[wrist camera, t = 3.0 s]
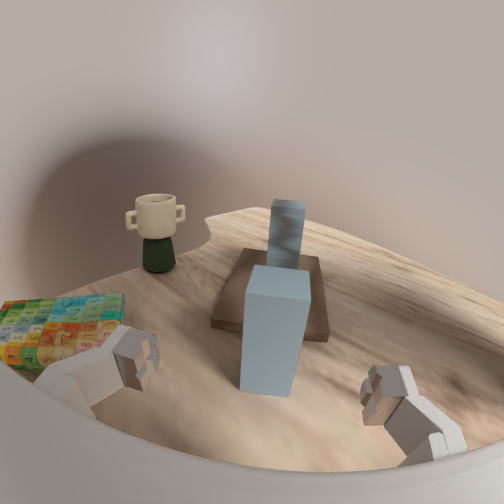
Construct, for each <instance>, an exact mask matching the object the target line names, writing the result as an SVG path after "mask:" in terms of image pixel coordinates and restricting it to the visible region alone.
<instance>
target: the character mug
mask: <svg viewBox="0 0 504 504" xmlns="http://www.w3.org/2000/svg"><path fill="white" fill-rule="evenodd" d="M135 203H136V210H135V211H129V212H127V213H126V214H125V219H126V228H127V230H135V229H137V231H138V233H139V235H140V236H141V237H143V238H144V241H143V267H144V268H145V269H147V270H150V271H154V272H163V271H168V270H169V269H171V268H173V267H174V265H175V264H176V261H175V255H174V250H173V245H172V240H171V237H170V236H171V235H173V234H174V233H175V231H176V223H182V222H184V221H185V205H176V197H175V196H173V195H169V194H150V195H144V196H141V197H138V198H136V202H135ZM177 210H180V218H176V211H177ZM132 216H136V221H137V224H133V225H132V224H131V217H132Z"/></svg>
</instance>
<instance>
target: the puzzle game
mask: <svg viewBox="0 0 504 504" xmlns="http://www.w3.org/2000/svg"><path fill="white" fill-rule="evenodd" d="M124 304H125V301H124V296H123V294H118V293H114V294H103V295H91V296H78V297H65V298H51V299H36V300H20V301H5V303H4V305H3V306H2V308H1V310H0V360H1V361H3V362H4V363H5V364H6V365H8V366H9V367H10V368H12V369H13V370H26V371H44V370H45V369H46V368H47V367H48V366H49V364H52V363H55V362H57V361H60V360H63V359H66V358H68V357H71V356H74V355H76V354H79V353H82V352H84V351H87V350H90V349H92V348H95V347H98V348H100V346H101V345H102V344H103V343H104V342H105V341H106V339H107V338H108V337H109V336H110V335H111V334H112V332H113V331H114V330H115V329H116V328H117V327H118V326H119V325H121V324H123V317H124Z"/></svg>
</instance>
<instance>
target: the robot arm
mask: <svg viewBox="0 0 504 504" xmlns="http://www.w3.org/2000/svg"><path fill="white" fill-rule="evenodd" d="M156 343H157V338H156V335H155V334H153V333H150V332H146V331H143V330H140V329H136V328H133V327H129V326H126V325H123V324H121V325H119V326H118V327H117V328H116V329H115V330H114V331H113V332H112V334H111V335H110V336H109V337H108V338H107V339H106V341H105V342H104V343H103V344H102V345H101V346H100V348H98V347H95V348H92V349H90V350H87V351H84V352H82V353H79V354H76V355H74V356H71V357H68V358H66V359H63V360H60V361H57V362H55V363H52V364H49V366H48V367H47V368H46V369H45V370H44V371H43V372H42V373H41V374H40V376H39V377H38V378H37V379H36V380H35V381H34V383H31V382H30V381H28V380H27V379H25V378H24V377H23V376H21V375H20V374H18V373H17V372H16V371H14V370H13V369H12V368H10V367H9V366H8V365H6V364H5V363H4V362H3V361H1V360H0V504H504V439H502V440H499V441H497V442H494V443H491V444H489V445H486V446H483V447H480V448H477V449H474V450H471V451H468V449H467V446H466V443H465V440H464V437H463V434H462V431H461V428H460V427H459V426H458V425H457V424H456V423H455V422H453V421H452V420H451V419H450V418H449V417H448V416H446V415H445V414H444V413H443V412H442V411H441V410H439V409H438V408H437V407H436V406H435V405H434V404H432V403H431V402H430V401H429V400H428V399H427V398H425V397H424V396H420V394H419V391H418V389H417V386H416V383H415V380H414V378H413V375H412V372H411V370H410V367H409V366H408V365H404V366H380V365H373V366H372V367H371V368H370V370H369V372H368V374H369V377H368V378H367V379H365V380H364V382H363V384H362V386H361V391H360V402H361V404H362V405H363V406H364V407H365V408H364V410H363V411H362V415H363V422H364V426H375V425H384V427H385V429H386V430H387V431H388V433H389V434H390V435H391V436H392V438H393V439H394V440H395V442H396V443H397V444H398V445H399V447H400V448H401V449H402V451H403V452H404V453H405V454H406V456H407V458H406V459H404V460H403V461H402V462H401V463H400V464H399V465H398V466H397V467H396V468H389V469H380V470H369V471H354V472H301V471H286V470H275V469H266V468H258V467H251V466H244V465H238V464H232V463H227V462H222V461H217V460H213V459H208V458H204V457H200V456H196V455H192V454H188V453H184V452H181V451H177V450H174V449H171V448H167V447H164V446H161V445H158V444H155V443H152V442H149V441H146V440H144V439H141V438H138V437H136V436H133V435H130V434H128V433H125V432H123V431H121V430H118V429H116V428H113V427H111V426H109V425H107V424H104V423H102V422H100V421H98V420H96V417H95V415H94V413H93V411H92V409H91V408H90V407H91V406H93V405H95V404H96V403H98V402H100V401H102V400H103V399H105V398H107V397H108V396H110V395H112V394H113V393H115V392H117V391H118V390H120V389H122V388H123V387H124V386H127V387H130V388H133V389H136V390H139V391H144V390H145V388H146V386H147V384H148V383H149V381H150V378H149V375H150V374H152V373H154V372H155V370H156V369H157V367H158V363H159V350H158V349H157V347H156V346H155V345H156Z"/></svg>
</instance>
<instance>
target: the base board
mask: <svg viewBox="0 0 504 504" xmlns="http://www.w3.org/2000/svg"><path fill="white" fill-rule="evenodd" d="M304 218H305V204H304V202H297V201H288V200H279V199H274V201H273V203H272V206H271V218H270V229H269V240H268V251H264V250H255V249H247V248H244V249H243V251H242V253H241V255H240V258H239V260H238V262H237V264H236V266H235V268H234V270H233V272H232V275H231V277H230V279H229V281H228V283H227V285H226V287H225V289H224V292H223V294H222V296H221V298H220V300H219V302H218V304H217V307H216V309H215V311H214V313H213V315H212V317H211V328H217V329H223V330H229V331H235V332H242V333H243V323H244V306H245V292H246V289H247V286H248V283H249V280H250V277H251V274H252V271H253V268H254V265H262V266H270V267H278V268H287V269H295V270H304V271H309V276H310V290H311V304H310V309H309V314H308V318H307V323H306V328H305V332H304V337H303V340H306V341H316V342H327V340H328V337H329V326H328V319H327V311H326V304H325V297H324V290H323V283H322V277H321V271H320V265H319V259H318V257H315V256H306V255H300V248H301V241H302V234H303V226H304Z"/></svg>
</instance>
